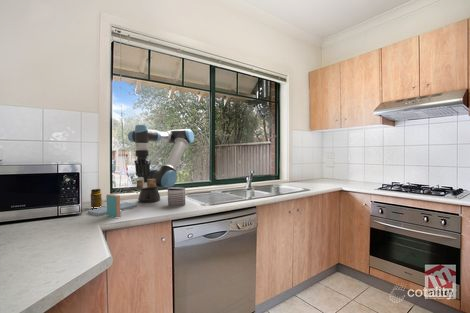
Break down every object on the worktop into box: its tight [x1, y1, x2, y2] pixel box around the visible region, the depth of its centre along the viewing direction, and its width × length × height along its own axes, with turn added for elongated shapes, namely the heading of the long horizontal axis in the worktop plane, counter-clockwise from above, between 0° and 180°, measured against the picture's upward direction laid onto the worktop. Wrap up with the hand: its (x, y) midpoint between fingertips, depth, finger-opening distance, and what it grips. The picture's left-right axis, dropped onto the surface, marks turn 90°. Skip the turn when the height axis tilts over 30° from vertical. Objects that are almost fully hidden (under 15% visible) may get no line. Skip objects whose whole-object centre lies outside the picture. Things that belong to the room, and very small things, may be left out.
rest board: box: [87, 202, 138, 217], centre depth 141 cm, size 24×13×2 cm, turn 147°
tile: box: [105, 193, 122, 218], centre depth 126 cm, size 2×10×12 cm, turn 57°
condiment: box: [90, 188, 103, 208], centre depth 148 cm, size 7×8×12 cm
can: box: [167, 186, 186, 208], centre depth 150 cm, size 11×11×12 cm
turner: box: [120, 179, 156, 192], centre depth 140 cm, size 21×6×5 cm, turn 147°
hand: (143, 187), depth 141 cm, fingers closed on turner, 3 cm apart
